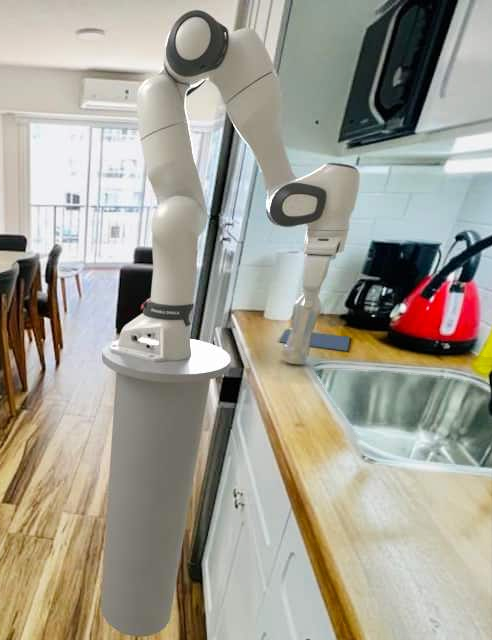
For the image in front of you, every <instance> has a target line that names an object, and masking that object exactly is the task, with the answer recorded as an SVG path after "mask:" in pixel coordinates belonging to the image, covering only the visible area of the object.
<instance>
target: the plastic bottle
mask: <svg viewBox="0 0 492 640" xmlns="http://www.w3.org/2000/svg"><path fill="white" fill-rule="evenodd" d="M321 288H322V286H321V287H320V289H319V290H316V294H315V297H314V301H313V305H312V307H305V306H304V303H305V296H306V290H307V289H303V290H302V292H303V294H302V295H301V296H300V297H299V298H298V299H297V300H296V302H295V303H294V304H293V310H292V320H291V325H290V329H289V330H290V334H289V337H288V340H287V343H285V345H284V347H283V349H282V354H281V358H282V360H283V361H284V362H285V363H286V364H287V363H288V364H291V365H303V364H305V363H306V362H307V361H308V359H309V357H310V352H311V347H310V342H311V337H312V333H314V329H315V325H316V323H317V320H318V318H319V316H320V313H321V311H322V302H321V299H320V298H319V294H320V293H321Z"/></svg>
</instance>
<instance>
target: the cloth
mask: <svg viewBox="0 0 492 640" xmlns="http://www.w3.org/2000/svg"><path fill="white" fill-rule="evenodd" d="M290 330H291V329H286V331H285V333H284V335H283V336H282V337H281V339H280V341H279V343H281V344H286V343H287V340H288V337H289V334H290ZM350 339H351V337H350V336H344V335H343V336H341V335H334V334H327V333H317V332H312V337H311V342H310V348H311V347H312V348H319V349H326V350H332V351H340V352H348V351H349V345H350Z"/></svg>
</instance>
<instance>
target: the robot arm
mask: <svg viewBox="0 0 492 640" xmlns="http://www.w3.org/2000/svg"><path fill="white" fill-rule="evenodd" d="M163 57H164V58H163V66H162V68H161V70H160V71H159V72H158V73H157V74H156V75H153V76H151V77H149V78H147V79H146V80H145V81H144V82H143V83H142V85H140V87H139V89H138V91H137V94H136V118H137V119H136V120H137V127H138V135H139V140H140V145H141V149H142V154H143V159H144V164H145V170H146V172H147V173H146V174H147V178H148V181H149V182H150V185H151V187H152V190H153V193H154V195H155V198H156V201H157V205H158V206H157V207H156V209H155V211H154V213H153V215H152V218H151V222H150V223H151V224H150V226H151V227H150V228H151V233H152V234H151V246H152V247H151V248H152V249H151V251H152V277H151V289H150V297H149V298H146V301H143V303H142V304H141V307H140V310H142V313H140V314H139V315H138V316H136V317H135V318H133V319H132V320H131V321H129V322H128V323H126V324H125V325H124V326H123V327H122V329H121V331H120V333H119V337H118V339H119V340H118V339H116V340H117V341H115V340H114V341H115V342H114V343H113V344H112V345H111V348H110V350H111V351H112V352H115V353H119V354H123V355H127V356H131V357H135V358H139V359H143V360H147V361H151V362H162V361H175V360H183V359H187V358H189V357H190V356H191V355H192V353H191V347H190V339H191V325H192V322H193V318H194V312H195V302H194V297H195V296H194V295H195V288H196V281H197V274H198V243H199V237H200V236H201V235H202V234H203V232H204V231H205V229H206V227H207V223H208V218H209V217H208V216H209V214H208V207H207V204H206V199H205V195H204V190H203V186H202V181H201V178H200V176H199V171H198V168H197V164H196V159H195V155H194V154H195V153H194V148H193V147H194V146H193V142H192V137H191V131H190V125H189V124H190V123H189V118H188V114H187V106H186V98H187V97H188V96H190V95H191V94H192V93H194V92H195V91H196V90H197V89H199V88H200V87H202V85H203V84H204V83H205V82H206V81H208V82H211V83H212V84H213V85H214V86H215V87H216V88H217V90H218V92H219V94H220V97H221V100H222V102H223V106H224V108H225V111H226V114H227V115H228V117H229V119H230V122H231V123H232V124H233V127H234V129H235V131H236V132H237V133H238V134H239V136H240V137H241V138H242V140H243V141H244V142H245V143H246V145H247V146H248V148H249V149H250V150H251V152H252V154H253V156H254V159H255V160H256V163H257V166H258V167H259V171H260V174H261V177H262V180H263V182H264V186H265V188H266V200H265V201H266V202H265V213H266V215H267V216H266V217H267V218H268V220H269V221H270V222H271V223H272V224H273V225H275V226H277V227H281V228H285V229H287V228H289V229H290V228H294V227H297V226H300V225H301V226H302V225H306V230H305V234H304V239H303V244H302V248H301V250H302V251H303V254H304V255H306V256H305V259H304V260H305V261H304V267H303V268H304V269H303V277H302V289H303V290H304V289H307V290H306V296H305V303H304V306H305V307H312V305H313V301H314V297H315V294H316V290H319V289H320V290H321V288H322V285H323V283H324V281H325V279H326V277H327V275H328V271H329V266H330V263H331V261H332V260H335V259H336V258H337V254H339V253H342V252H344V250H345V246H346V242H347V238H348V234H349V230H350V218H351V216H352V214H353V211H354V210H355V207H356V203H357V199H358V193H359V189H360V183H361V180H360V179H361V175H360V171H359V169H358V168H356V167H355V166H353V165H350V164H345V163H339V162H338V163H336V162H327V163H325V164H324V165H323V166H321V167H319V168H318V169H316V170H315V171H313V172H311V173H309V174H307V175H304V176H302V177H300V178H297V177H296V176H295V174H294V172H293V169H292V165H291V163H290V160H289V157H288V155H287V151H286V147H285V145H284V142H283V136H282V135H283V134H282V123H283V122H282V119H283V111H284V103H283V95H282V90H281V84H280V81H279V77H278V74H277V72H276V68H275V66H274V64H273V61H272V57H270V54H269V52H268V50H267V48H266V46H265V44H264V43H263V40H262V38H261V37H260V36H259V34H258V33H257V31H256V30H255V29H253V28H252V27H251V28H250V27H243V28H239V29H236V30H235V31H232V32H231V33H230V32H229V29H228V28H227V27H226V26H225V25H223V24H222V23H220V22H219V21H218V20H216V19H215V18H214V17H213V16H212V15H211V14H209V13H207V12H206V11H203V10H198V9H194V10H189V11H187V12H185V13H184V14H182V15H181V16H179V18H178V19H177V20H176V21H175V22H174V23H173V25H172V27H171V29H170V30H169V32H168V34H167V38H166V41H165V49H164V56H163ZM320 287H321V288H320Z"/></svg>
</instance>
